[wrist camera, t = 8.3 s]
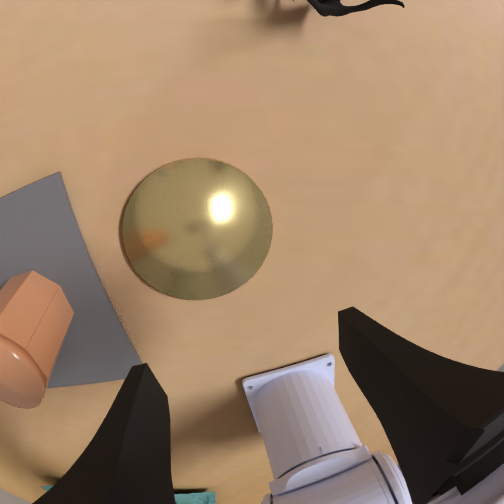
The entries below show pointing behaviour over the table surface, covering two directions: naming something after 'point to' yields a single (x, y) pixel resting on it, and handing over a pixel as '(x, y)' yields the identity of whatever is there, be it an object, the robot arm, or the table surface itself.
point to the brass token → (197, 229)
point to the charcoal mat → (64, 281)
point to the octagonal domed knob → (30, 336)
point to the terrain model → (184, 497)
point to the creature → (329, 4)
